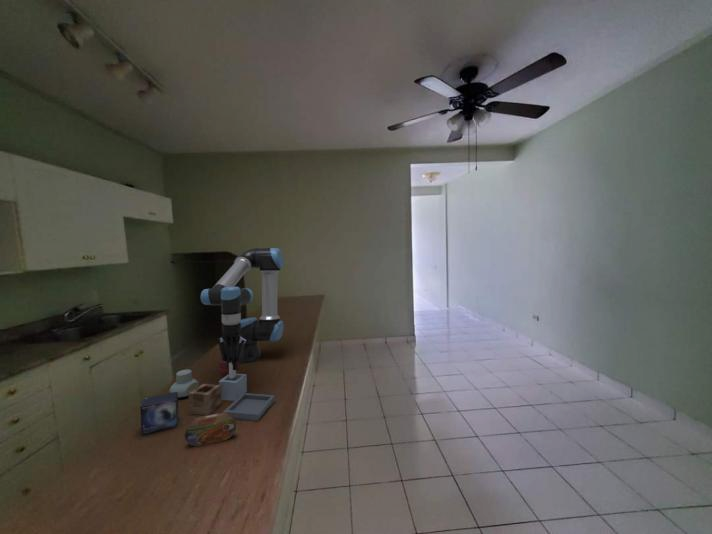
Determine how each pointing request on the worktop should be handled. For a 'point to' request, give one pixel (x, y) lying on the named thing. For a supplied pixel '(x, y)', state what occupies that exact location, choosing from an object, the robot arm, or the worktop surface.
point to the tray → (250, 406)
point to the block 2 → (233, 387)
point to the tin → (210, 429)
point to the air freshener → (184, 383)
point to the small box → (159, 413)
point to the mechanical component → (225, 368)
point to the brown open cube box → (204, 399)
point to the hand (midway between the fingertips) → (232, 376)
